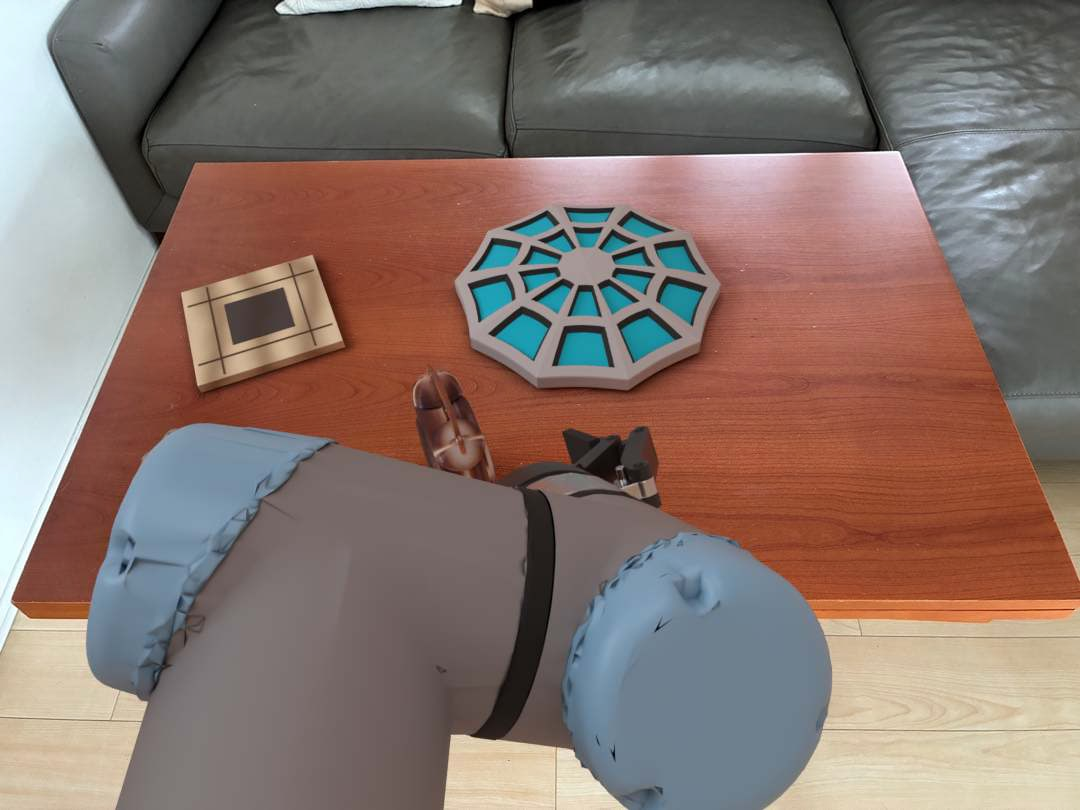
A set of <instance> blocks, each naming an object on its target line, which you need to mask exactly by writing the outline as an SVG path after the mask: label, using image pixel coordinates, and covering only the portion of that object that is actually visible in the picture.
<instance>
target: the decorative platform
mask: <svg viewBox="0 0 1080 810" xmlns="http://www.w3.org/2000/svg"><path fill="white" fill-rule="evenodd" d="M454 288H455V292H456V294H457V296H458V298H459V301H460V303H461V306H462V309H463V311H464V314H465V317H466V321H467V326H468V333H469V341H470V346H471V349H473V350H474V351H475V350H476V351H477V352H479V353H482V354H483V355H486V356H487V357H489V358H491V359H493V360H495V361H497V362H499V363H500V364H502V365H504V366H506V367H507V368H509V369H511V371H514V372H515V373H517V374H518V376H520V377H522V378H523V379H524V380H526V381H527V382H529V383H530V384H532V385H533V386H534V387H535V388H537V389H549V388H550V389H552V388H596V389H608V390H609V389H610V390H618V391H619V390H620V391H629V390H631V389H632V388H634V387H635V386H637V385H638V384H640V383H641V382H643V381H644V380H646V379H648V378H650V377H651V376H652V375H654V374H656V373H657V372H659V371H661V370H663V369H665V368H667V367H669V366H671V365H673V364H676V363H678V362H679V361H683V360H684V359H687V358H689V357H691V356H694V355H696V354H699V353H700V349H701V344H702V340H703V335H704V331H705V328H706V325H707V322H708V319H709V317H710V314H711V313H712V311H713V308H714V306H715V304H716V302H717V301H718V298H719V296H720V294H721V289H722V283H721V282H720V280H719V279H718V278H717V276H715V274H714V273H713V272H712V270H711V269H710V267H709V266H708V265H707V263H706V262H705V260H704V258H703V256H702V254H701V253H700V251H699V249H698V247H697V245H696V243H695V240H694V238H693V236H692V233H691V232H690V231H687V230H684V229H681V228H679V227H676V226H673V225H671V224H668V223H665V222H663V221H661V220H659V219H656V218H654V217H652V216H650V215H649V214H647V213H644V212H642V211H641V210H638V209H637V208H635V207H633V206H632V205H629V204H627V203H617V204H593V205H592V204H590V205H589V204H587V205H585V204H566V203H549V204H548V205H546V206H545V207H542V208H541V209H539V210H537V211H535V212H533V213H530V214H528V215H526V216H525V217H522V218H520V219H517V220H515V221H512V222H509V223H506V224H504V225H501V226H498V227H495V228H492V229H489V230H487V232H486V234H485V236H484V238H483V240H482V242H481V244H480V246H479V247H478V249H477V250H476V252H475V254H474V255H473V257H471V259H470V261H469V263H468V264H467V265H466V267H465V268H464V269H463V270H462V271H461V272H460V274H458V276H457V277H456V278H455V279H454Z"/></svg>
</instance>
